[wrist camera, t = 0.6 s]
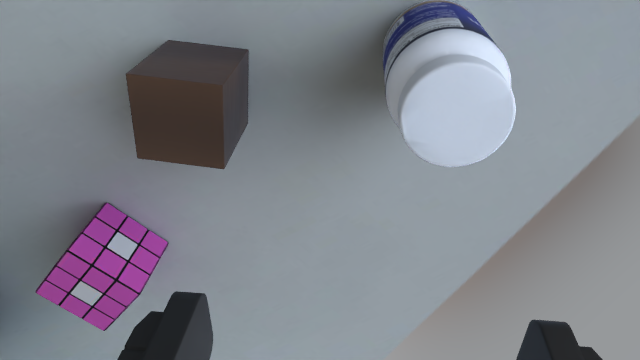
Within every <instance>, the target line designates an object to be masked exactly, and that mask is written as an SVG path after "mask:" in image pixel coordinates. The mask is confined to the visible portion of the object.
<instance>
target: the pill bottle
mask: <svg viewBox="0 0 640 360" xmlns="http://www.w3.org/2000/svg"><path fill="white" fill-rule="evenodd" d="M383 67H384V78H385V96H386V101H387V106H388V109H389V112H390V115H391V117H392V119H393V120H394V122H395V123H396V125H397V126H398V128H399V129H400V130H401V133H402V136H403V138H404V140H405V142H406V144H407V145H408V147H409V148H410V149H411V150H412V151H413V152H414V153H415V154H416V155H417V156H418V157H420V158H421V159H423V160H425V161H426V162H429V163H431V164H434V165H438V166H443V167H460V166H466V165H470V164H473V163H476V162H478V161H480V160H483V159H484V158H486V157H488V156H489V155H491V154H492V153H493V152H495V151H496V150H497V149H498V148H499V147H500V146H501V145H502V144H503V143H504V141H505V140H506V138H507V137H508V135H509V133H510V131H511V129H512V127H513V124H514V120H515V113H516V104H515V99H514V95H513V92H512V90H511V74H510V70H509V67H508V64H507V61H506V59H505V57H504V55H503V54H502V52H501V50H500V49H499V48H498V46H497V45H496V44H495V43H494V41H493V40H492V39H491V38H490V36H489V35H488V34H487V32H486V31H485V30H484V29H483V27H482V26H481V25H480V23H479V22H478V21H477V19H476V18H475V17H474V16H473V15H472V14H471V12H470V11H468V10H467V9H466V8H465V7H463V6H461V5H459V4H457V3H455V2H452V1H447V0H428V1H424V2H420V3H418V4H415V5H413V6H412V7H410V8H408V9H407V10H405V11H404V12H403V13H402V14H400V15H399V16H398V17H397V19H396V20H395V21H394V22H393V24H392V25H391V27H390V28H389V30H388V32H387V35H386V38H385V41H384V46H383Z"/></svg>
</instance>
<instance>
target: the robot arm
mask: <svg viewBox="0 0 640 360" xmlns="http://www.w3.org/2000/svg"><path fill="white" fill-rule="evenodd" d="M212 344H213V331H212V325H211V319H210V314H209V308H208V302H207V297H206V295H205V294H203V293H190V292H174V293H173V294H172V296H171V298H170V300H169V302H168V304H167V306H166V308H165V310H164V312H155V311H151V312H150V313H149V314H148V315H147V316H146V317H145V318H144V319H143V320H142V321H141V322H140V323H138V324H137V325H136V326H135V328H134V329H133V331H132V333H131V335H130V337H129V339H128V341H127V343H126V345H125V349H124V350H122V352H121V354H120V356H119V358H118V360H209V359H210V355H211V351H212ZM517 360H602V359H601V358H600V357H599V355H598V354H597V353H596V352H595V351H594V350H593V349H592V348H591V347H580V346H579V345H578V343H577V341H576V339H575V336H574V334H573V332H572V330H571V328H570V326H569V325H568V324H567V323H566V322H556V321H544V320H532V321H531V322H530V323H529V326H528V328H527V331H526V334H525V337H524V340H523V343H522V345H521V348H520V351H519V353H518V356H517Z"/></svg>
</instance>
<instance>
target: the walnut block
mask: <svg viewBox="0 0 640 360" xmlns="http://www.w3.org/2000/svg"><path fill="white" fill-rule="evenodd" d="M248 55H249V51H248V50H247V49H239V48H230V47H222V46H214V45H205V44H197V43H188V42H180V41H172V40H168V41H167V42H165V43H164V44H163V45H162V46H160V47H159V48H158V49H157V50H155V51H154V52H153V53H152V54H150V55H149V56H148V57H146V58H145V59H144V60H143V61H141V62H140V63H139V64H138V65H136V66H135V67H134V68H133V69H131V70H130V71H129V72H128V73H126V79H127V86H128V94H129V101H130V108H131V115H132V123H133V130H134V137H135V144H136V152H137V158H140V159H148V160H155V161H163V162H171V163H179V164H187V165H195V166H203V167H210V168H218V169H225V167H226V165H227V163H228V161H229V159H230V157H231V155H232V153H233V151H234V149H235V147H236V145H237V143H238V141H239V139H240V137H241V135H242V134H243V132H244V130H245V128H246V126H247V124H248Z"/></svg>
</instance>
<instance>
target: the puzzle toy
mask: <svg viewBox="0 0 640 360" xmlns="http://www.w3.org/2000/svg"><path fill="white" fill-rule="evenodd" d="M167 245H168V242H167V241H165V240H164V239H162V238H161V237H159V236H157V235H156V234H154V233H153V232H151V231H150V230H148V229H147V228H145V227H144V226H142V225H141V224H139V223H137V222H136V221H134V220H133V219H131V218H130V217H127V215H125V214H124V213H122V212H121V211H119V210H118V209H116V208H114V207H113V206H111V205H110V204H108V203H105V204H104V206H102V207H101V209H100V210H99V211H98V212H97V213H96V215H95V216H94V217H93V218H92V220H91V221H90V222H89V223H88V224H87V226H86V227H85V228H84V229H83V230H82V232H81V233H80V234H79V235H78V237H77V238H76V239H75V240H74V241H73V243H72V244H71V245H70V246H69V248H68V249H67V250H66V251H65V253H64V254H63V255H62V257H61V258H60V259H59V260H58V262H57V263H56V264H55V266H54V267H53V268H52V270H51V271H50V272H49V274H48V275H47V276H46V278H45V279H44V280H43V282H42V283H41V284H40V286H39V287H38V288H37V290H36V293H37V294H39V295H41V296H42V297H44V298H46V299H48V300H50V301H51V302H53V303H55V304H57V305H59V306H60V307H62V308H64V309H66V310H67V311H69V312H71V313H73V314H74V315H76V316H78V317H80V318H82V319H83V320H85V321H87V322H89V323H91V324H92V325H94V326H96V327H98V328H99V329H101V330H103V331H105V330H106V329H107V328H108V327H109V326H110V325H111V324H112V323H113V322H114V321H115V320H116V318H118V317H119V316H120V315H121V314H122V313H123V312H124V311H125V310H126V309H127V308H128V306H129V305H130V304H131V303H132V302H133V301H134V300H135V299H136V298H137V297H138V296H139V295H140V294H141V292H142V290H143V289H144V287H145V285H146V283H147V281H148V280H149V278H150V276H151V274H152V272H153V271H154V269H155V267H156V265H157V263H158V262H159V259H160V258H161V256H162V254H163V253H164V251H165V249H166V247H167Z"/></svg>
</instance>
